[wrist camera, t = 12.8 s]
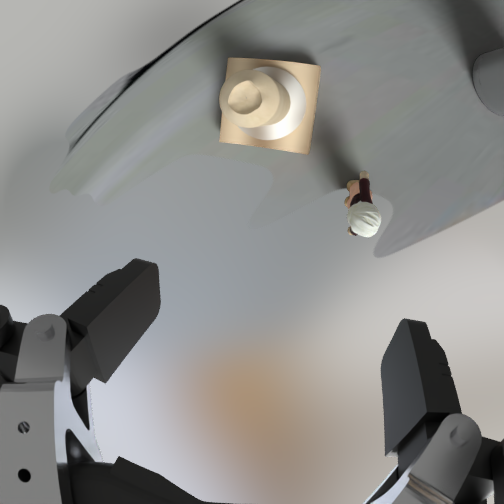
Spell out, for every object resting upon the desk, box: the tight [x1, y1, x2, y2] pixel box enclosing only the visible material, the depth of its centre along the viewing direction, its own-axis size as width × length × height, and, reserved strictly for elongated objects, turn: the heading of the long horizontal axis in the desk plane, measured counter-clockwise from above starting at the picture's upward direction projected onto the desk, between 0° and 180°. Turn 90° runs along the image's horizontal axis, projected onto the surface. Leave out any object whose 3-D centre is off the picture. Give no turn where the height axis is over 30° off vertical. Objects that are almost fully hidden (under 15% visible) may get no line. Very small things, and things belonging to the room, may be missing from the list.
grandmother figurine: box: [345, 171, 381, 237], centre depth 32 cm, size 8×4×13 cm, turn 6°
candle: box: [219, 70, 291, 128], centre depth 27 cm, size 6×6×10 cm
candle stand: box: [220, 58, 321, 155], centre depth 34 cm, size 11×11×4 cm
